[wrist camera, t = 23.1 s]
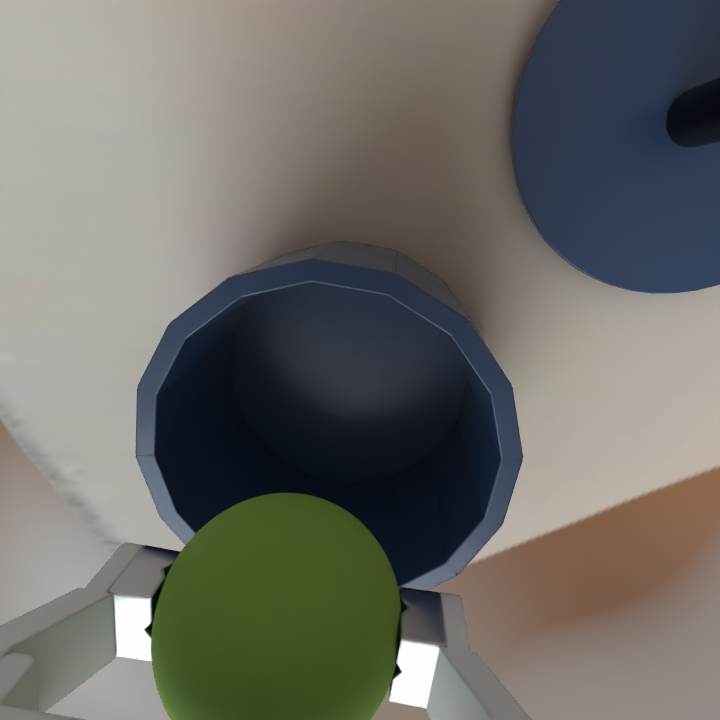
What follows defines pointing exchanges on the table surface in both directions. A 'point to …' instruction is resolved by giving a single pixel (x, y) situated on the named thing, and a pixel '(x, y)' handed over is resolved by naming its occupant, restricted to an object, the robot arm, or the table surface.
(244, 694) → the guava
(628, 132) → the pot lid
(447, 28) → the table surface
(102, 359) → the table surface
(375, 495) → the pot
